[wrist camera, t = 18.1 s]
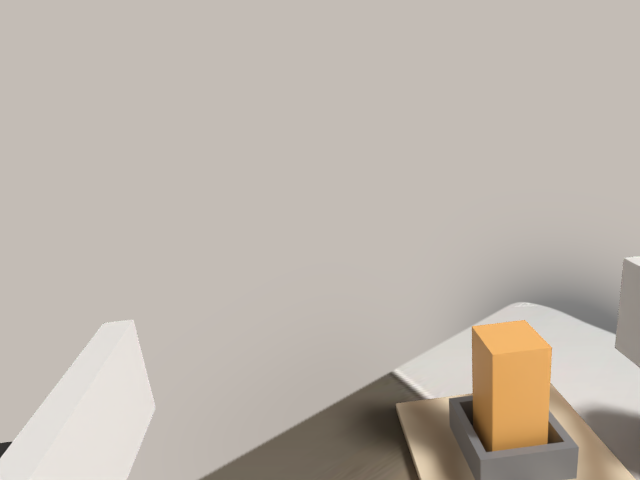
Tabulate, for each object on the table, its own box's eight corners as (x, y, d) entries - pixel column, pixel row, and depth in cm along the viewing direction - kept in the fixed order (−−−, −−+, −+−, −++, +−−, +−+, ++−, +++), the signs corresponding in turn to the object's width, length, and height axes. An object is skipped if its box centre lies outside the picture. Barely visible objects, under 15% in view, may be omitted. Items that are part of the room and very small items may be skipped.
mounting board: (444, 556, 38) (444, 547, 38) (396, 410, 55) (395, 403, 55) (666, 526, 38) (668, 516, 38) (550, 390, 56) (550, 383, 55)
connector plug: (492, 469, 44) (492, 354, 40) (473, 432, 49) (471, 326, 45) (546, 462, 44) (551, 347, 40) (521, 426, 49) (524, 319, 45)
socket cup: (480, 491, 42) (480, 460, 41) (449, 425, 50) (448, 398, 49) (576, 478, 42) (578, 447, 41) (530, 415, 51) (531, 387, 50)
